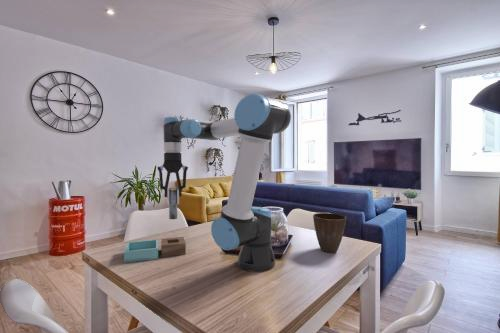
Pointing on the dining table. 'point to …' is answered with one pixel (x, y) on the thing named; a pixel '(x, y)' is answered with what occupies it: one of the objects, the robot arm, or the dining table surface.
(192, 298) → the dining table surface
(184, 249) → the block
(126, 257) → the pin tray
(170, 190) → the steel pin
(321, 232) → the plant pot
